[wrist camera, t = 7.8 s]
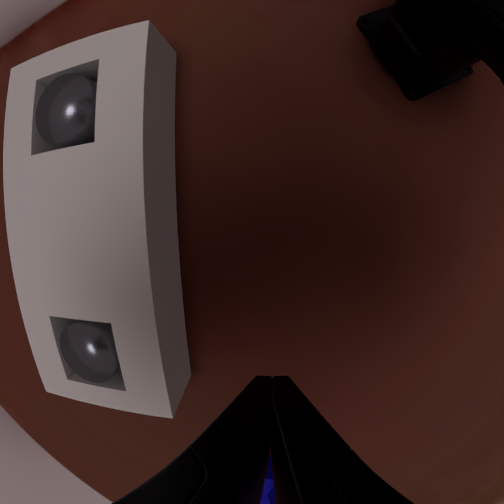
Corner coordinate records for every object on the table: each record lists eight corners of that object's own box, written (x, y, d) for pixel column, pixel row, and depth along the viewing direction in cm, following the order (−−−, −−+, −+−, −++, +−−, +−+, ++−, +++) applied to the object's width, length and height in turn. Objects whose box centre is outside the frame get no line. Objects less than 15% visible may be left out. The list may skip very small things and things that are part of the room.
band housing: (176, 53, 17) (149, 20, 12) (191, 374, 22) (172, 418, 17) (53, 82, 18) (11, 68, 13) (78, 359, 22) (46, 391, 17)
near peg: (129, 85, 17) (93, 64, 13) (127, 144, 18) (89, 136, 13) (79, 97, 17) (38, 83, 13) (77, 152, 18) (34, 149, 14)
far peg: (138, 299, 20) (106, 328, 16) (146, 351, 21) (120, 387, 16) (89, 296, 20) (53, 321, 16) (99, 345, 21) (68, 377, 17)
